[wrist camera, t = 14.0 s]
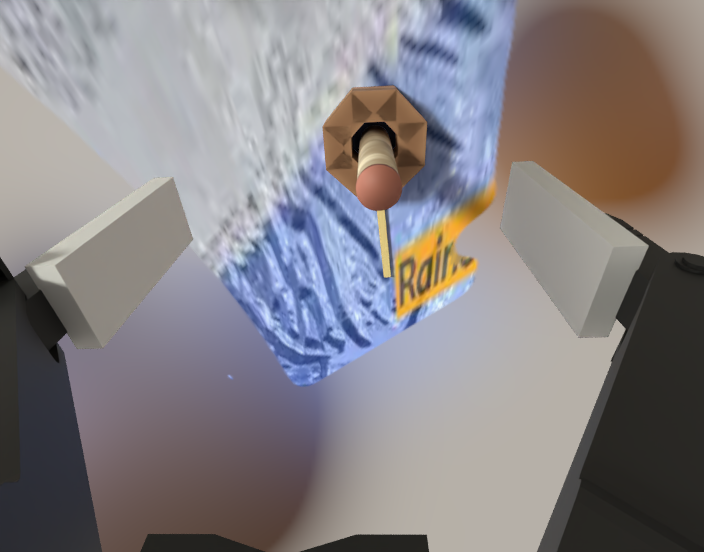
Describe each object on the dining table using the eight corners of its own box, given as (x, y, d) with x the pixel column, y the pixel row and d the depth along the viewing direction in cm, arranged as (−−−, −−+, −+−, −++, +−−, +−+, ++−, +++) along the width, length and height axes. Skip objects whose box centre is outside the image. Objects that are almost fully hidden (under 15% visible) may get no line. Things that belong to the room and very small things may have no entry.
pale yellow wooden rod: (390, 274, 49) (390, 276, 48) (383, 275, 49) (384, 277, 48) (383, 195, 43) (383, 197, 43) (375, 196, 43) (375, 198, 43)
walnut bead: (331, 185, 42) (328, 197, 39) (324, 89, 37) (319, 93, 34) (418, 182, 42) (422, 193, 39) (423, 83, 37) (428, 87, 33)
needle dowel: (359, 156, 41) (356, 211, 27) (358, 124, 39) (354, 166, 25) (389, 155, 40) (401, 210, 27) (389, 123, 39) (402, 164, 25)
